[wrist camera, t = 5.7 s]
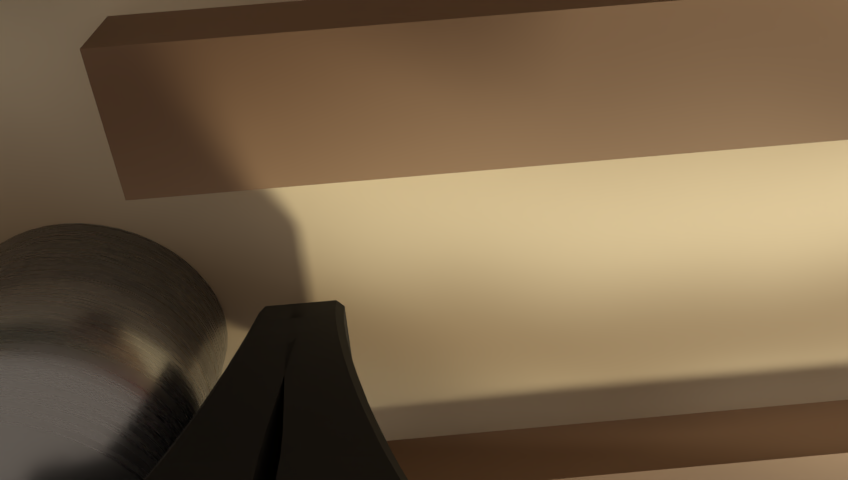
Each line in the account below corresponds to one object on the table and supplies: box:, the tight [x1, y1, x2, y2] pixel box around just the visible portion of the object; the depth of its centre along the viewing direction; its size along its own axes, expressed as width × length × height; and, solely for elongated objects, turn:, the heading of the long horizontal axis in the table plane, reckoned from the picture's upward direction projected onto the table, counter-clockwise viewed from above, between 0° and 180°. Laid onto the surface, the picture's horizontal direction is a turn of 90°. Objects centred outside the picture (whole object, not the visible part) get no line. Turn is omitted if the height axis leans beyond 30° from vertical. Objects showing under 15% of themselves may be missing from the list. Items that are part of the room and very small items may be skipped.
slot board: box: [0, 0, 848, 480], centre depth 13 cm, size 14×27×2 cm, turn 94°
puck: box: [0, 223, 228, 480], centre depth 11 cm, size 4×4×4 cm
